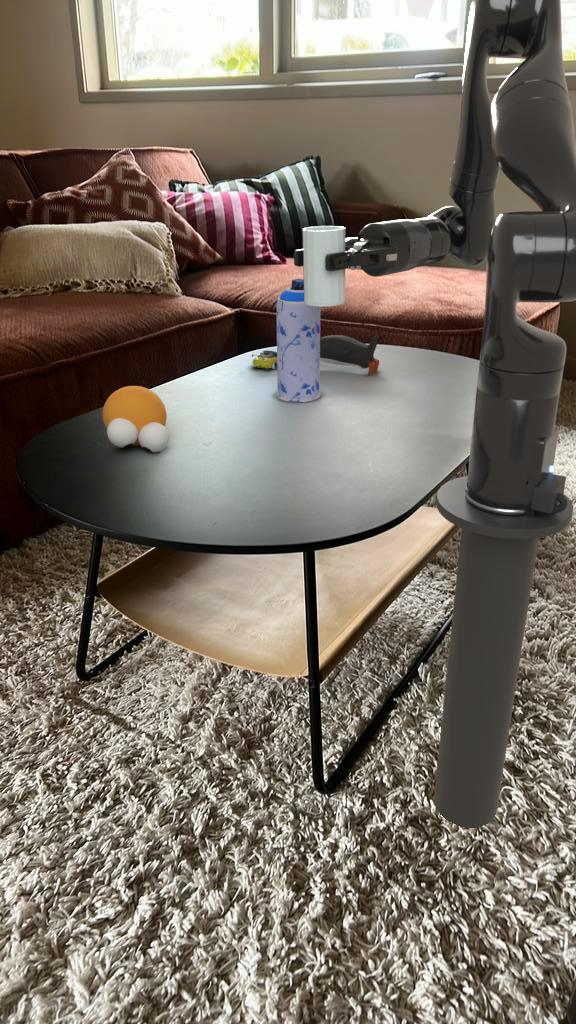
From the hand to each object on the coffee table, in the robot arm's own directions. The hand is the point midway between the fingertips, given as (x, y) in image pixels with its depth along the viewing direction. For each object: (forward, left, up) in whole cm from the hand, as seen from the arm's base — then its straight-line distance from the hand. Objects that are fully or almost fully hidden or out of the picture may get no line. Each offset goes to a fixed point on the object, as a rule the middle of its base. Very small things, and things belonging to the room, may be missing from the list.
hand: (311, 260), depth 105 cm
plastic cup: (-1, -2, -6) cm, 6 cm away
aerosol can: (+13, -18, -26) cm, 34 cm away
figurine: (+15, -37, -26) cm, 48 cm away
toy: (+21, +14, -26) cm, 37 cm away
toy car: (+29, -33, -26) cm, 51 cm away
